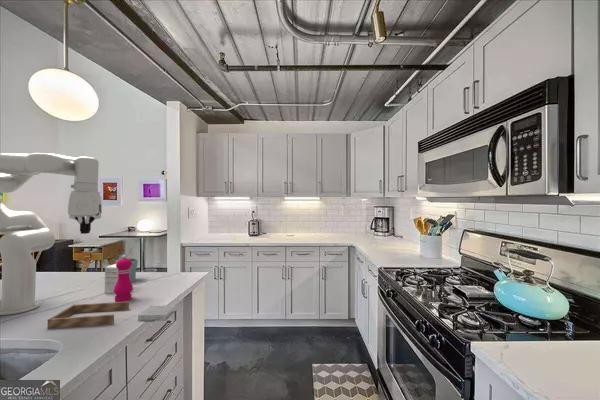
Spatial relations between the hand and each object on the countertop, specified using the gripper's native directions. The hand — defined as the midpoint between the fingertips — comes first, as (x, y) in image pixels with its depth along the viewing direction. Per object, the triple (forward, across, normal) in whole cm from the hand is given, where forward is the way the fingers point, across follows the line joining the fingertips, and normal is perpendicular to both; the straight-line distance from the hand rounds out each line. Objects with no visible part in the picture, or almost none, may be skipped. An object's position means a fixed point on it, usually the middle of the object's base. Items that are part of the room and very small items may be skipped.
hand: (85, 233), depth 107 cm
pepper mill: (+31, +10, +11) cm, 35 cm away
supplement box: (+31, +2, +24) cm, 39 cm away
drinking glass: (+31, 0, +40) cm, 51 cm away
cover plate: (+32, +30, -10) cm, 45 cm away
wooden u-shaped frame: (+31, +7, -8) cm, 33 cm away
